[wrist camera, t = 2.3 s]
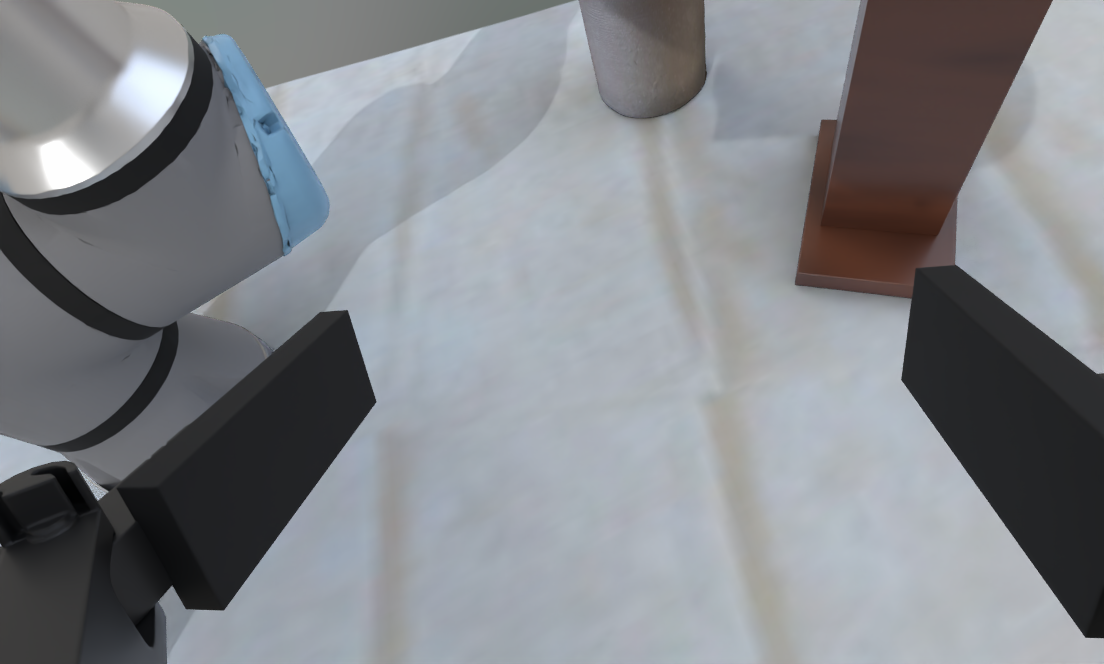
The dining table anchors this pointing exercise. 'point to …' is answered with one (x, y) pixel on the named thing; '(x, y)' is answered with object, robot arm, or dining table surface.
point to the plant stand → (908, 137)
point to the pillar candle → (646, 53)
